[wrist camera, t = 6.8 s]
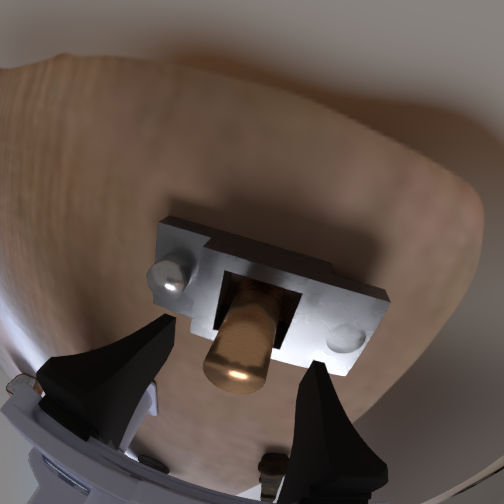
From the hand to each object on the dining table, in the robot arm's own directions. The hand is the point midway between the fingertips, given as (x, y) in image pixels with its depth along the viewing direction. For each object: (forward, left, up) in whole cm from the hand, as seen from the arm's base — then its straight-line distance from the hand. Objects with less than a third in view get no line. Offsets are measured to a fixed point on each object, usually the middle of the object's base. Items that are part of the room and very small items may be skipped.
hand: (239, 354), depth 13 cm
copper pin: (0, 0, -7) cm, 7 cm away
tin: (-44, -45, -7) cm, 63 cm away
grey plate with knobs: (0, 0, -7) cm, 7 cm away
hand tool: (+11, -34, -7) cm, 36 cm away
